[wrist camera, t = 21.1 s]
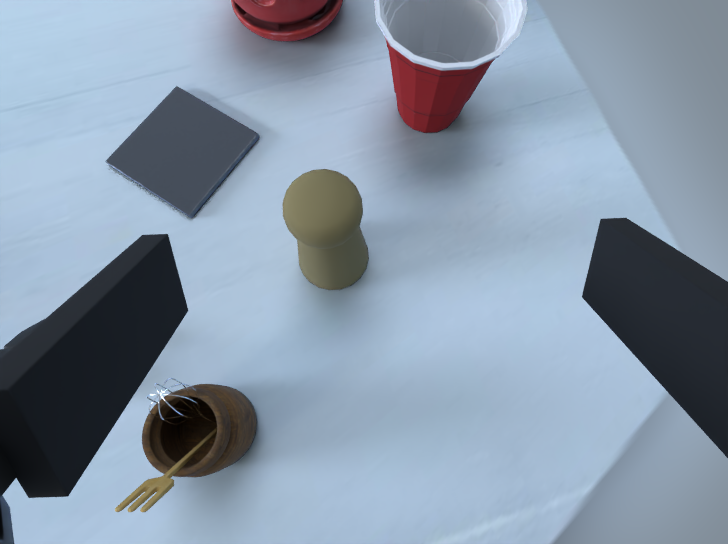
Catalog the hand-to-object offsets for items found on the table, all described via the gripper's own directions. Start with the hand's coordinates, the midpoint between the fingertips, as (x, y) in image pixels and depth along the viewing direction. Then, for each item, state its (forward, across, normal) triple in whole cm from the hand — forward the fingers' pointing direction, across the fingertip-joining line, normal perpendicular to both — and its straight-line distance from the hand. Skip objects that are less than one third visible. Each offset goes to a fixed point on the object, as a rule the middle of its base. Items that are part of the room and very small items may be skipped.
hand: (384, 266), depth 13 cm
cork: (+21, -3, -10) cm, 24 cm away
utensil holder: (+12, -12, -19) cm, 26 cm away
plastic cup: (+32, +6, 0) cm, 32 cm away
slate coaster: (+29, -17, -2) cm, 34 cm away
